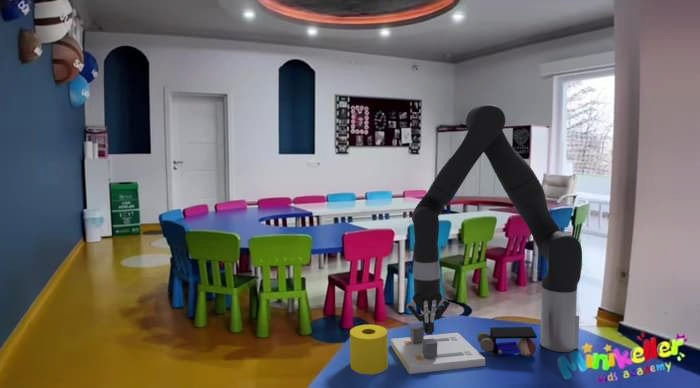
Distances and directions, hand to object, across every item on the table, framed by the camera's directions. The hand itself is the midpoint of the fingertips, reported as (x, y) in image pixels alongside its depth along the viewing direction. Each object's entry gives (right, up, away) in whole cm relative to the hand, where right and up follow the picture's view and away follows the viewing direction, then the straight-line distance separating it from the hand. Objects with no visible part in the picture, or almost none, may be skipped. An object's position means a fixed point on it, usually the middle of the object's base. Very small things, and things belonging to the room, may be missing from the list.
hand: (428, 333), depth 138 cm
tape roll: (-18, -6, -10) cm, 21 cm away
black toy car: (+21, -5, -5) cm, 22 cm away
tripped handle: (-3, -2, -1) cm, 4 cm away
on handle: (-1, -3, -10) cm, 11 cm away
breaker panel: (+1, -5, -5) cm, 7 cm away
